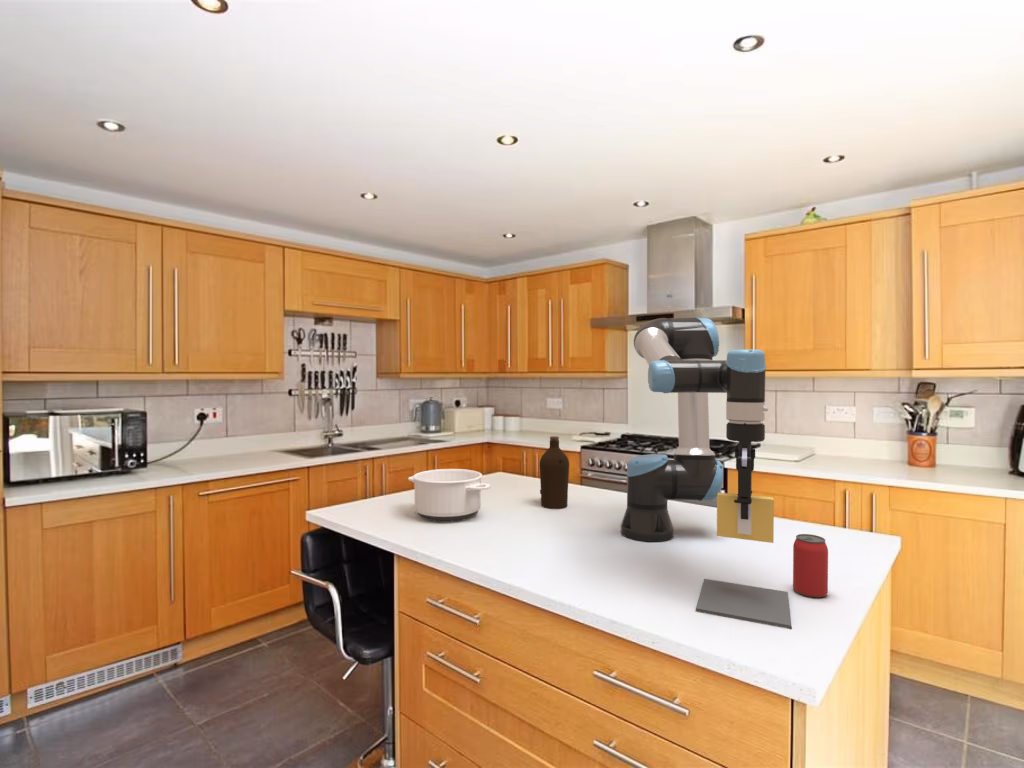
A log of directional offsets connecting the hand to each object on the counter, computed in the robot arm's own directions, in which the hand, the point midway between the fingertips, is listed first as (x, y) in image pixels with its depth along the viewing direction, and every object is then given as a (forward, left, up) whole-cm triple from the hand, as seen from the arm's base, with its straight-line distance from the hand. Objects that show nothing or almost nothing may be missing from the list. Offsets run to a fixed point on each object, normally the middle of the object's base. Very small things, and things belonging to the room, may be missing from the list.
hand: (744, 531), depth 113 cm
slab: (0, 0, -1) cm, 1 cm away
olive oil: (-65, +55, -14) cm, 86 cm away
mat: (0, -4, -14) cm, 14 cm away
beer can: (+13, +8, -14) cm, 21 cm away
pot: (-93, +28, -14) cm, 98 cm away
